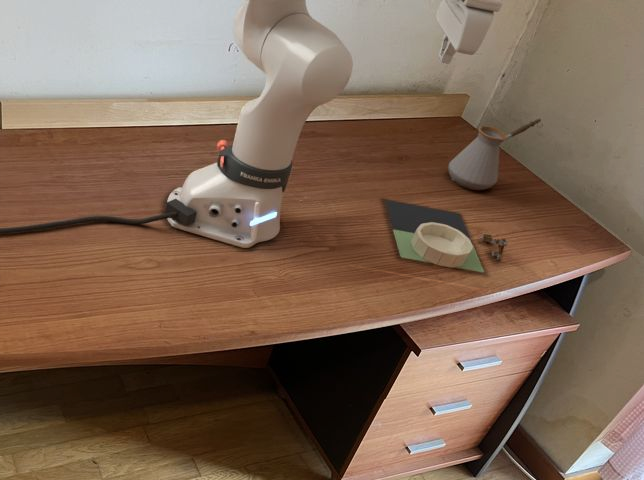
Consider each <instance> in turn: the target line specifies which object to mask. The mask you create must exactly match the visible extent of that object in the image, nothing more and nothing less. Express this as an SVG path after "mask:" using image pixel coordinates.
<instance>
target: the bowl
mask: <svg viewBox="0 0 644 480" xmlns="http://www.w3.org/2000/svg"><path fill="white" fill-rule="evenodd" d="M470 239H471V238H470ZM470 239H469V238H468V237H467V236H465V235H464V234H463V233H462V232H461V231H459V230H457V229H455V228H452V227H450V226H448V225H445V224H439V223H434V222H430V223H423V224H421V225H420V226H419V227H418V228H417V229H416V232H415V234H414V236H413V238H412V240H411V244H412V247H413V250H414V251H415V252H416V253H417V254H418V255H420V256H421V257H422V258H424V259H425V260H427V261H429V262H431V263H430V264H434V265H437V266H440V267H445V268H449V269H450V268H451V269H452V268H456V267H458V266H463V264H464V263H465V261H466V260H467V258H468V256H469V254H470V253H471V251H472V249H473V246H474V245H473V246H472V243H473V242H472V243H471V241H472V240H471V241H470ZM429 262H428V263H429Z"/></svg>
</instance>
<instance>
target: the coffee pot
mask: <svg viewBox="0 0 644 480" xmlns="http://www.w3.org/2000/svg"><path fill="white" fill-rule="evenodd" d="M539 123H541V126H539V125H538V124H539ZM543 125H544V123H543V121H542V119H541V118H537V119H534V121H531V120H530V122H529V123H527V124H524V125H522V126H520V127H518V128H516V130H513V131H512V132H510V133H509V134H506V133H505V132H503V131H502V130H500V129H498V128H496V127H493V126H489V125H481V126H478V127H477V132H478V133H477V137H476V138H474V140H473V141H471V142H470V143H469V144H468V145H467V146H466V147H465V148H464V149H462V151H461V152H459V153H458V154H457V155H456V156H455V157H454V158H452V160H451V161H450V162H449V163H448V173H449V176H450V177H451V181H453V182H455V183H456V184H457V185H459V186H461V187H463V188H465V189H467V190H471V191H483V190H487V189H488V190H489V189H490V188H492V187H493V186H495V185H496V184H497V182H498V180H499V165H500V162H499V161H500V145H501V144H502V143H503V142H505V141H507V140H509V139H510V138H512V137H515V136H517V135H519V134H521V133H524V132H525V131H527V130H528V129H530V128H531V127H532V128H533V127H534V126H536V127H537V128H542V127H543Z"/></svg>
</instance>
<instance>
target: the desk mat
mask: <svg viewBox="0 0 644 480" xmlns="http://www.w3.org/2000/svg"><path fill="white" fill-rule="evenodd" d="M384 202H385V205H386V206H385V207H386V210H387V214H388V217H389V221H390V224H391V225H390V226H391V228H392V232H393V236H394V238H395V242H396V246H397V249H398V253H399V257H400V258H401V259H402V258H403V259H409V260H412V261H419V262H423V263H428V264H429V263H430V264H432V263H431V262H429V261H427V260H425V259H424V258H422V257H421V256H420V255H418V254H417V253H416V252H415V251H414V250H413V247H412V244H411V240H412V238H413V236H414V234H415V232H416V229H417V228H418V227H419V226H420V225H421V224H423V223H430V222H434V223H439V224H445V225H448V226H450V227H452V228H455V229H457V230H459V231H461V232H462V233H463V234H464V235H465V236H467V237H468V238H469V239H470V241H471V243H472V246H473V249H472V251H471V253H470V254H469V256H468V258H467V260H466V261H465V263H464V264H463V266H458V267H455V268H456V269H463V270H468V271H473V272H478V273H485V270H484V267H483V265H482V263H481V261H480V258H479V256H478V254H477V251H476V249H475V246H474V244H473V241H472V238H471V236H470V234H469V232H468V230H467V227H466V225H465V222H464V219H463V217H462V215H461V213H458V212H454V211H449V210H443V209H437V208H432V207H427V206H422V205H417V204H410V203H405V202H400V201H396V200H391V199H384Z"/></svg>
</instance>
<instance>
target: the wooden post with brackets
mask: <svg viewBox="0 0 644 480" xmlns="http://www.w3.org/2000/svg"><path fill="white" fill-rule="evenodd" d="M481 242H485V243H490V244H494V245H497V246H498V251H496V250H491V252H490V254H491V256H492V257H493V258H496V262H501V260H502V258H503V252H504V249H505V247H507V245H508V241H507V240H506V238H504V237H503V238H501V239H498V238H494V237H493V235H492V234H491V233H483V234H482V236H481Z"/></svg>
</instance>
